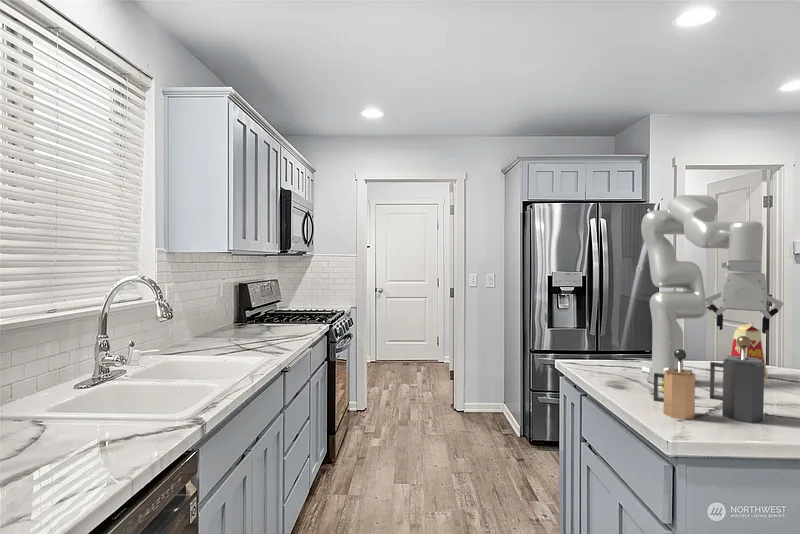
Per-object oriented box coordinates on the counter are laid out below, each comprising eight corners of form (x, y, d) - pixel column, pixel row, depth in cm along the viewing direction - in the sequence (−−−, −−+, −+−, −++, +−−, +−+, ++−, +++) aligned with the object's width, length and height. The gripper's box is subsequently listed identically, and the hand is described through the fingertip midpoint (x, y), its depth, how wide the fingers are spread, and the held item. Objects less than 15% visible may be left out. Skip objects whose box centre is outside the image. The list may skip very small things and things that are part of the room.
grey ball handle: (672, 411, 138) (673, 349, 138) (673, 408, 140) (674, 347, 140) (685, 412, 136) (685, 350, 136) (685, 410, 139) (686, 348, 139)
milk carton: (768, 379, 184) (769, 323, 183) (742, 378, 184) (743, 323, 184) (750, 373, 193) (751, 320, 193) (726, 373, 193) (727, 320, 193)
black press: (709, 416, 137) (710, 358, 137) (710, 408, 145) (711, 353, 144) (763, 424, 131) (764, 363, 130) (761, 416, 138) (762, 358, 138)
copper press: (652, 414, 139) (652, 370, 138) (655, 408, 145) (655, 365, 145) (693, 420, 133) (694, 374, 133) (695, 414, 139) (695, 370, 139)
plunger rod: (735, 413, 136) (736, 336, 136) (735, 410, 139) (736, 334, 139) (749, 415, 135) (751, 337, 134) (749, 412, 137) (750, 335, 137)
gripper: (706, 267, 138) (704, 329, 139) (786, 269, 129) (783, 336, 129) (707, 266, 144) (705, 326, 145) (783, 268, 135) (780, 332, 136)
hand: (742, 330), depth 137 cm, fingers open, 9 cm apart
